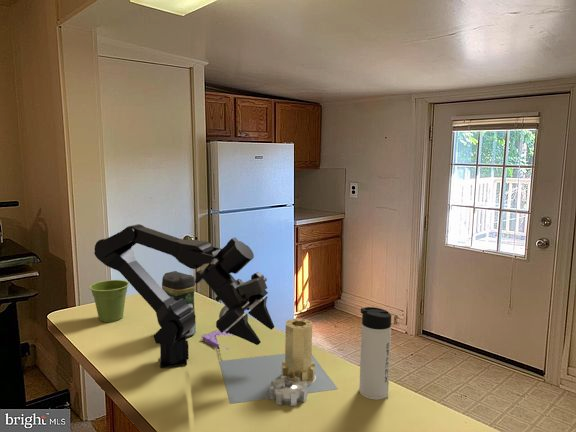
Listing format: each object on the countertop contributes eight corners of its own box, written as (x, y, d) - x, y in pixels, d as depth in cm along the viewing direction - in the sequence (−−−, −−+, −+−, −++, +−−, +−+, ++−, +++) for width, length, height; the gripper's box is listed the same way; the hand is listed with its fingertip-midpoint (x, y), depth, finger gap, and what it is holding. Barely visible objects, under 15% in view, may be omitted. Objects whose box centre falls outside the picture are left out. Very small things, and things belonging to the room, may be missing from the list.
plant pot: (85, 317, 140) (83, 284, 139) (121, 309, 148) (120, 277, 147) (98, 328, 132) (97, 292, 130) (136, 319, 140) (135, 285, 138)
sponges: (221, 335, 129) (221, 329, 129) (248, 348, 121) (248, 341, 120) (201, 341, 124) (201, 335, 124) (228, 356, 116) (228, 349, 115)
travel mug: (354, 389, 98) (357, 304, 96) (383, 389, 99) (386, 304, 96) (361, 405, 92) (364, 314, 89) (391, 404, 93) (396, 314, 90)
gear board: (230, 409, 90) (230, 390, 89) (218, 365, 109) (218, 349, 108) (337, 393, 96) (338, 376, 96) (309, 355, 115) (309, 340, 115)
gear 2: (274, 408, 88) (274, 393, 88) (265, 388, 96) (265, 374, 95) (312, 403, 90) (312, 387, 90) (300, 383, 98) (301, 369, 98)
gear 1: (280, 384, 97) (281, 329, 96) (282, 368, 105) (283, 317, 103) (314, 386, 97) (315, 330, 95) (314, 369, 105) (315, 318, 103)
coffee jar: (158, 333, 128) (156, 272, 126) (180, 326, 135) (179, 267, 132) (178, 342, 122) (177, 278, 120) (200, 334, 129) (199, 273, 126)
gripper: (229, 275, 93) (276, 331, 91) (261, 255, 110) (301, 303, 109) (196, 305, 96) (241, 360, 95) (232, 282, 114) (271, 328, 112)
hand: (266, 335), depth 102 cm, fingers open, 9 cm apart
